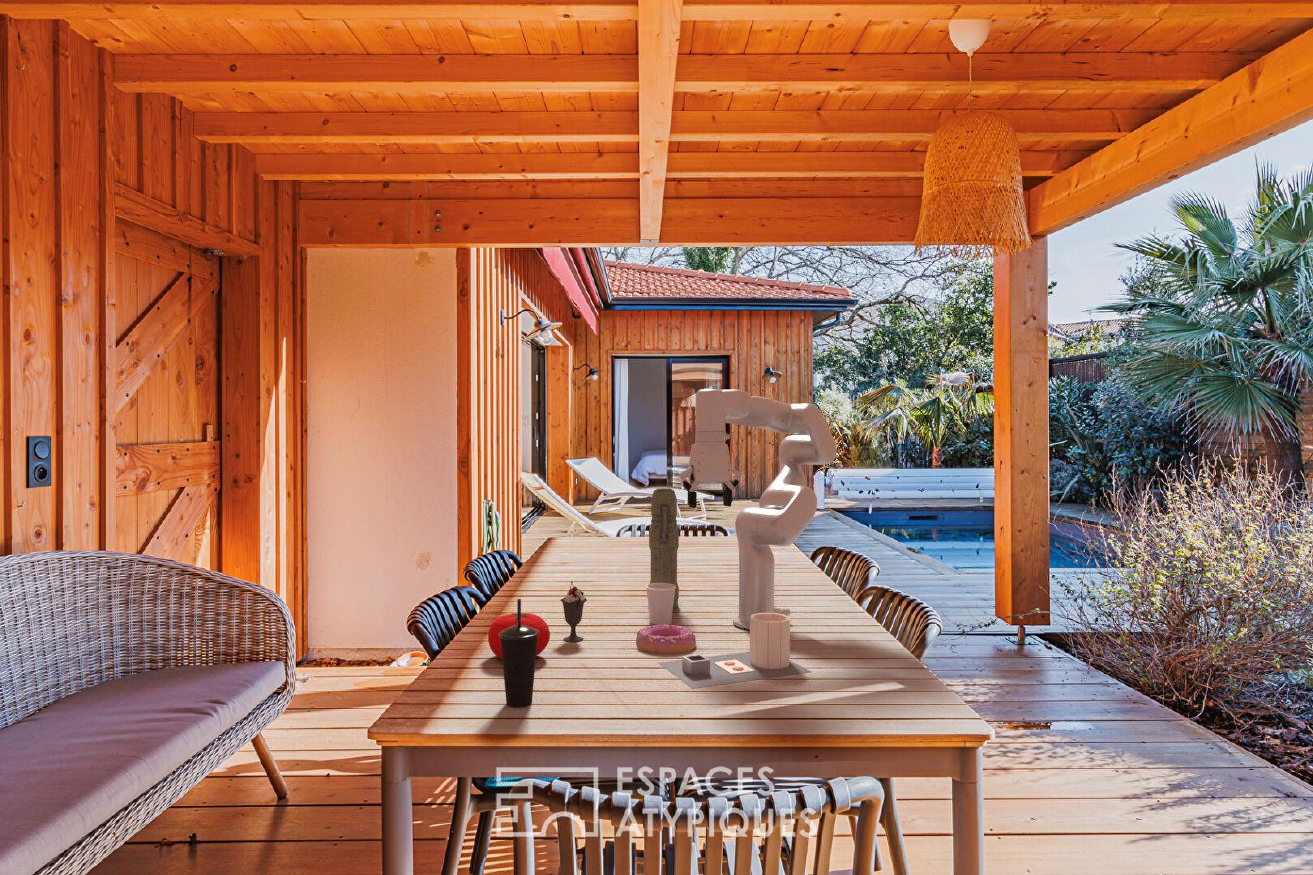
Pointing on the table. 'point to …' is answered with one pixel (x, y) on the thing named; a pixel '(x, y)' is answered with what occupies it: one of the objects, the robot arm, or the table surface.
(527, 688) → the drinking cup
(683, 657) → the grey hollow block
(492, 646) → the tomato
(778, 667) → the tube
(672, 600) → the dixie cup
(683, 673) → the board
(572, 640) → the sundae
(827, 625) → the table surface
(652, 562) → the olive tall column
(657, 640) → the donut
